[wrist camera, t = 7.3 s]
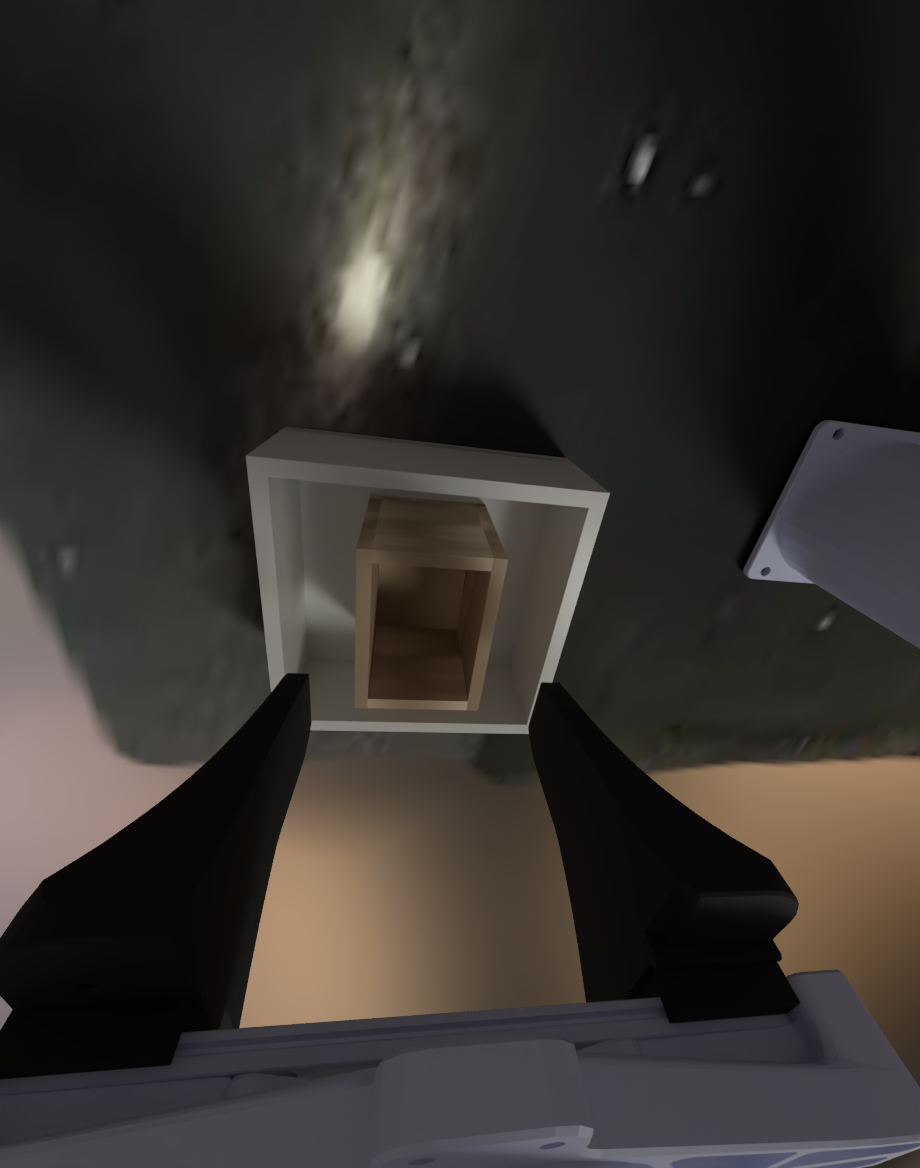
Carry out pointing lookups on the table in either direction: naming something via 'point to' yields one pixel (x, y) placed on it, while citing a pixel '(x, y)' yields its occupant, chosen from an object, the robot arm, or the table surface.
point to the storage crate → (328, 563)
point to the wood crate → (425, 603)
